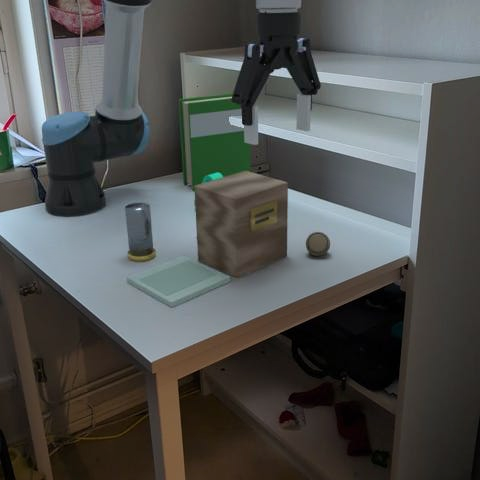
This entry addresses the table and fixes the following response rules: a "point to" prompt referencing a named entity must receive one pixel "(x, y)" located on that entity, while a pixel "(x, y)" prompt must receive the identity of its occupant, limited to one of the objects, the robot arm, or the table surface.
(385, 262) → the table surface
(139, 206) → the grey glass cylinder
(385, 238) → the table surface
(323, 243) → the door knob
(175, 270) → the pad
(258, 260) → the block
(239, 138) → the hardback book
